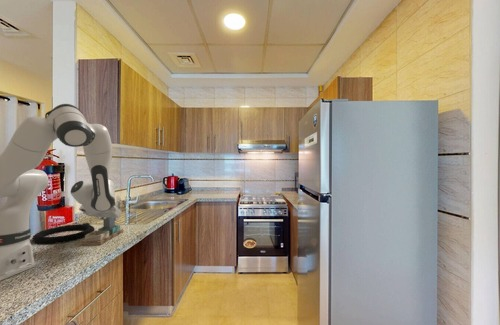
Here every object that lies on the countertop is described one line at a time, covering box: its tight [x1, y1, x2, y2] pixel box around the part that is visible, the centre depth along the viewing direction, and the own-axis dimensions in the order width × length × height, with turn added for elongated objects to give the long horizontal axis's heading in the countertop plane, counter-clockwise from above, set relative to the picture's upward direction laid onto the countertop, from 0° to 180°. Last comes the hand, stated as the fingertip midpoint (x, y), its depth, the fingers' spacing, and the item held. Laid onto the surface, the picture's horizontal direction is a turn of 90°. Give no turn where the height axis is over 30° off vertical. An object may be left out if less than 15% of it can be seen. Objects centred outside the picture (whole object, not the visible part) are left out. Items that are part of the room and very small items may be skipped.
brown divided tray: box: [80, 224, 124, 246], centre depth 129 cm, size 22×10×4 cm, turn 2°
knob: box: [102, 217, 116, 229], centre depth 134 cm, size 4×4×10 cm
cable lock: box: [31, 222, 95, 245], centre depth 134 cm, size 28×4×30 cm
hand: (110, 219), depth 135 cm, fingers open, 8 cm apart
